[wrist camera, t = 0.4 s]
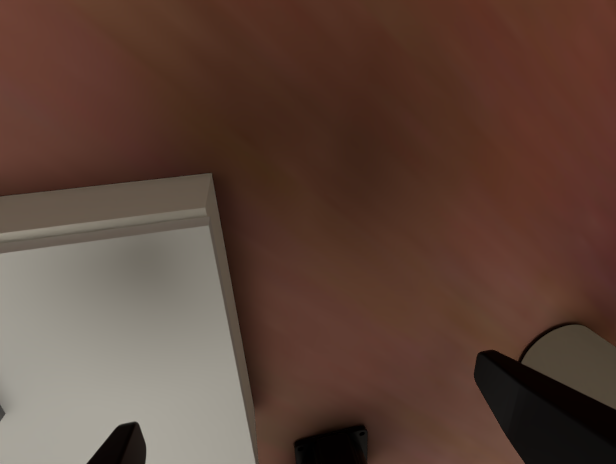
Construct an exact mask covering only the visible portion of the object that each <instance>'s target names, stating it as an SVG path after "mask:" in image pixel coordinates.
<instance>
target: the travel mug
mask: <svg viewBox="0 0 616 464" xmlns="http://www.w3.org/2000/svg"><path fill="white" fill-rule="evenodd" d="M521 363H522V364H524V365H526V366H528V367H530V368H532V369H534V370H536V371H538V372H540V373H542V374H544V375H546V376H548V377H550V378H552V379H554V380H556V381H559V382H561V383H563V384H565V385H567V386H569V387H571V388H573V389H575V390H577V391H579V392H581V393H583V394H585V395H587V396H589V397H591V398H593V399H595V400H597V401H599V402H601V403H603V404H606V405H608V406H610V407H612V408H614V409H616V347H615V346H613V345H612V344H610V343H609V342H607V341H606V340H604V339H603V338H601V337H600V336H599V335H597V334H596V333H594V332H593V331H591V330H590V329H588V328H587V327H585V326H582V325H568V326H564V327H560V328H558V329H556V330H553V331H551V332H549V333H548V334H546V335H545V336H543V337H542V338H540V339H539V340H538V341H537V342H536V343H535V344H534V345H533V346H532V347H531V348H530V349H529V350H528V352H527V353H526V355H525V357H524V358H523V360H522V362H521Z"/></svg>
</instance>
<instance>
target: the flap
mask: <svg viewBox="0 0 616 464" xmlns="http://www.w3.org/2000/svg"><path fill="white" fill-rule="evenodd" d="M133 421H136V422H138V423H139V425H140V428H141V431H142V434H143V437H144V440H145V443H146V450H147V451H146V462H145V464H258V463H257V458H256V452H255V447H254V442H253V437H252V432H251V426H250V421H249V416H248V411H247V406H246V401H245V395H244V390H243V385H242V380H241V375H240V369H239V364H238V359H237V354H236V349H235V343H234V338H233V333H232V328H231V323H230V318H229V312H228V307H227V302H226V297H225V292H224V286H223V281H222V276H221V271H220V266H219V261H218V255H217V250H216V245H215V240H214V235H213V229H212V224H211V219H210V216H208V217H201V218H193V219H186V220H178V221H170V222H163V223H155V224H147V225H140V226H132V227H125V228H117V229H109V230H102V231H94V232H86V233H79V234H71V235H63V236H56V237H48V238H41V239H33V240H25V241H18V242H10V243H2V244H0V464H87V462H88V461H89V460H90V459H91V457H92V456H93V455H94V454H95V453H96V451H97V450H98V449H99V448H100V446H101V445H102V444H103V443H104V441H105V440H106V439H107V438H108V437H109V435H110V434H111V433H112V432H113V430H114V429H115V428H116V427H117V426H118V425H120V424H124V423H128V422H133Z"/></svg>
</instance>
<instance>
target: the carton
mask: <svg viewBox="0 0 616 464" xmlns="http://www.w3.org/2000/svg"><path fill="white" fill-rule="evenodd" d="M208 216H210V219H211V224H212V229H213V235H214V240H215V245H216V250H217V255H218V261H219V266H220V271H221V276H222V281H223V286H224V292H225V297H226V302H227V307H228V312H229V318H230V323H231V328H232V333H233V338H234V343H235V349H236V354H237V359H238V364H239V369H240V375H241V380H242V385H243V390H244V395H245V401H246V406H247V411H248V416H249V421H250V426H251V432H252V437H253V442H254V447H255V452H256V458H257V463H258V451H257V438H256V425H255V413H254V405H253V399H252V394H251V388H250V383H249V377H248V372H247V366H246V360H245V355H244V349H243V344H242V338H241V333H240V327H239V322H238V316H237V311H236V305H235V300H234V294H233V289H232V283H231V278H230V272H229V266H228V261H227V255H226V250H225V244H224V239H223V233H222V228H221V222H220V217H219V211H218V206H217V200H216V195H215V189H214V184H213V178H212V173H207V174H198V175H189V176H180V177H171V178H162V179H153V180H144V181H135V182H126V183H117V184H108V185H99V186H90V187H81V188H72V189H63V190H55V191H46V192H37V193H28V194H19V195H10V196H1V197H0V244H2V243H10V242H18V241H25V240H33V239H41V238H48V237H56V236H63V235H71V234H79V233H86V232H94V231H102V230H109V229H117V228H125V227H132V226H140V225H147V224H155V223H163V222H170V221H178V220H186V219H193V218H201V217H208ZM258 464H259V463H258Z"/></svg>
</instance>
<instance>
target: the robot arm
mask: <svg viewBox="0 0 616 464" xmlns="http://www.w3.org/2000/svg"><path fill="white" fill-rule="evenodd" d="M474 379H475V382H476V384H477V386H478V387H479V389H480V391H481V393H482V394H483V396H484V398H485V400H486V401H487V403H488V405H489V407H490V409H491V410H492V412H493V414H494V416H495V417H496V419H497V421H498V423H499V424H500V426H501V428H502V429H503V431H504V433H505V434H506V436H507V438H508V439H509V441H510V442H511V444H512V445H513V447H514V448H515V450H516V451H517V452H518V454H519V455H520V457H521V458H522V460H523V461H524V463H525V464H616V409H614V408H612V407H610V406H608V405H606V404H603V403H601V402H599V401H597V400H595V399H593V398H591V397H589V396H587V395H585V394H583V393H581V392H579V391H577V390H575V389H573V388H571V387H569V386H567V385H565V384H563V383H561V382H559V381H556V380H554V379H552V378H550V377H548V376H546V375H544V374H542V373H540V372H538V371H536V370H534V369H532V368H530V367H528V366H526V365H524V364H522V363H520V362H518V361H516V360H514V359H511V358H509V357H507V356H505V355H503V354H501V353H499V352H497V351H495V350H487V351H482V352H479V353H478V355H477V359H476V365H475V370H474ZM294 449H295V458H296V464H367V430H366V427H365V426H358V427H354V428H350V429H346V430H342V431H338V432H334V433H329V434H325V435H321V436H317V437H313V438H309V439H305V440H301V441H298V442H296V443H295V444H294ZM146 451H147V450H146V443H145V440H144V437H143V434H142V431H141V428H140V425H139V423H138V422H136V421H133V422H128V423H124V424H120V425H118V426H117V427H116V428H115V429H114V430H113V432H112V433H111V434H110V435H109V437H108V438H107V439H106V440H105V441H104V443H103V444H102V445H101V446H100V448H99V449H98V450H97V451H96V453H95V454H94V455H93V456H92V457H91V459H90V460H89V461H88V462H87V464H145V462H146Z"/></svg>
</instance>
